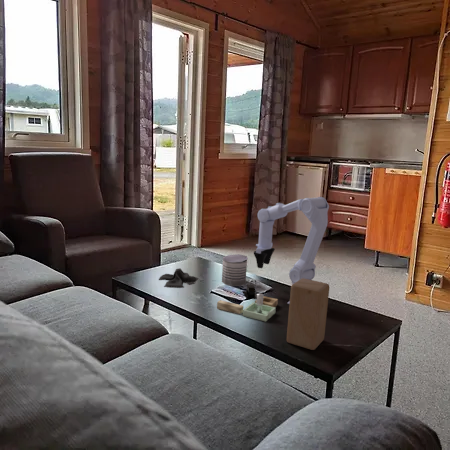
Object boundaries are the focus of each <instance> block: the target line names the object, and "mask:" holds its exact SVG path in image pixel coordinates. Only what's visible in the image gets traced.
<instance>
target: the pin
mask: <svg viewBox="0 0 450 450" xmlns="http://www.w3.org/2000/svg"><path fill="white" fill-rule="evenodd" d="M256 294H257V299H256V300H257V302H256V313H260V314H262V308H263V296H264V293H261V292H259V293H256Z"/></svg>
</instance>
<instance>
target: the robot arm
mask: <svg viewBox="0 0 450 450" xmlns="http://www.w3.org/2000/svg"><path fill="white" fill-rule="evenodd" d="M329 208H330V205H329V203H328V202H327V199H326V198H325V197H323V196H317V197H305V198H299V199H297V200H294V201H292V202H290V203H287V204H284V203H282V202H277V203H275V205H273V206H272V205H270V206H269V205H268V206H267V208H261V209H259V210H258V212H257V219H258V221H259V230H258V242H257V243H256V244H255V247H257V248H256V249H255V251H253V256H254V257H255V261H256V267H257V268H258V269H263V267H264V264H265V265H269V264H270V263H271V258H272V256H273V253H274V252H275V248H274V247H273V244H274V243H273V241H272V240H273V228H274V225H275V221H276V220H278V219H282V218H284V217H287V215H288V213H291V212H294V211H295V212H296V211H298V210H299V211H301V212H302V213H303V214H304V215H305V217H306V218H307V219H308V221H309V222H310V223H311V226H310V230H309V232H308V235H307V238H306V241H305V244H304V246H303V248H302V252H301V254H300V257H299V259H298V260H297V261H296V262H295V263H294V265H293V267H292V268H291V269H290V270H289V273H288V275H289V279H290V282H291V283H292V284H294V283H296V282H297V281H299V280H300V279H302V278H305V279H309V280H313V279H314V278H315V276H316V268H317V266H316V264H315V263H314V262H315V259H316V257H317V254H318V251H319V249H320V246H321V243H322V240H323V238H324V235H325V233H326V230H327V226H328V222H329V220H328V219H329V217H328V211H329ZM286 304H287V305H289V304H290V300H289V301H288V302H287V303H286Z"/></svg>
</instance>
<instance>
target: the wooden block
mask: <svg viewBox="0 0 450 450" xmlns="http://www.w3.org/2000/svg"><path fill="white" fill-rule="evenodd" d="M329 294H330V284H329V283H326V282H322V281H318V280H313V279H312V280H309V279H305V278H302V279H300V280H299V281H297V282H296V283H294V284H292V285H291V286H290V293H289V296H290V297H289V301H290V304H288V318H287V329H286V331H287V332H286V342H287V343H288V344H292V345H295V346H298V347H302V348H304V349H308V350H311V351H316V349H317V348H318V346H319V345H320V344H322V342H323V341H324V340H325V333H326V324H327V314H328V305H329Z"/></svg>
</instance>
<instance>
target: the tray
mask: <svg viewBox="0 0 450 450" xmlns="http://www.w3.org/2000/svg"><path fill="white" fill-rule="evenodd" d="M276 308H277V307H271V306H267V305H263V308H262V314H260V313H256V303H255V301H254V302H253V301H252V302H251V304H249V305H247V307H245V308H243V313H242V316H243V317H247V318H251V319H253V320H257V321H263V322H267V321H268V320H270V319H271V318H272V317H273V316H274V315H275V314H276V310H277V309H276Z"/></svg>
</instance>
